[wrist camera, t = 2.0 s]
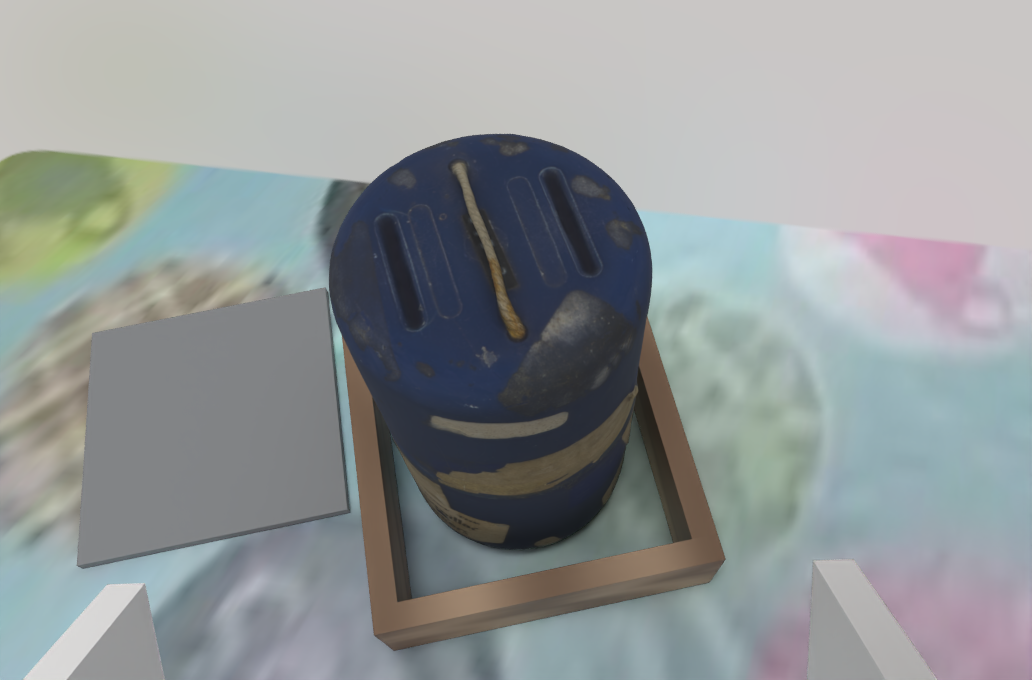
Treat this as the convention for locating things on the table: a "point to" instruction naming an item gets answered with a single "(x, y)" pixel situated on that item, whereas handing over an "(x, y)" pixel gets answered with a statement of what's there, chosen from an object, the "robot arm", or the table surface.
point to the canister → (499, 329)
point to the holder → (547, 590)
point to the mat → (211, 428)
